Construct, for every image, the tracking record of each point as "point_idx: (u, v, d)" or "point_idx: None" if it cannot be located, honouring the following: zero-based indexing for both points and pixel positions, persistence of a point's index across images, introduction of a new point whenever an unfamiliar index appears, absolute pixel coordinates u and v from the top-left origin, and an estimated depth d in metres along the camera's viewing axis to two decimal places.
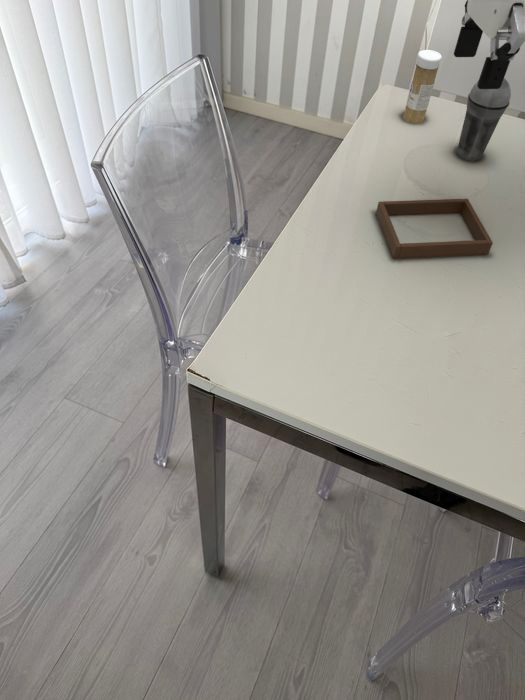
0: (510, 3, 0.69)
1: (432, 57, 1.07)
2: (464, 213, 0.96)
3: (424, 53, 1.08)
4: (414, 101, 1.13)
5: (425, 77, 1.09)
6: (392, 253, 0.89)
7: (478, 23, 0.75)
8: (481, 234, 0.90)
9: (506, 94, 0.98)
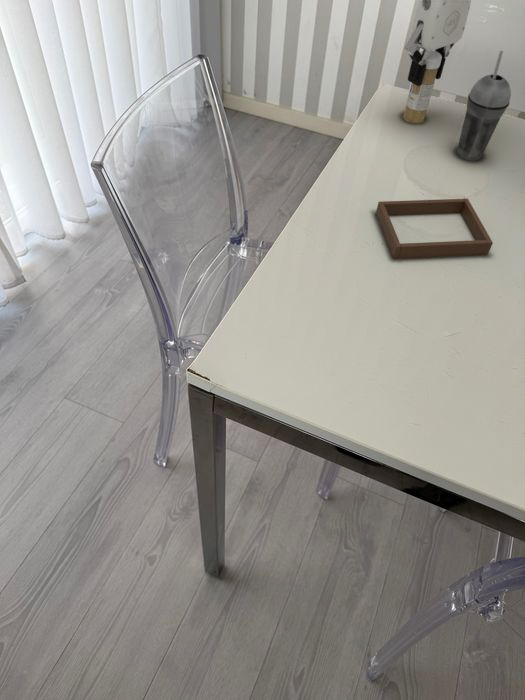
0: (417, 19, 1.01)
1: (432, 57, 1.07)
2: (464, 213, 0.96)
3: None
4: (414, 101, 1.13)
5: (425, 77, 1.09)
6: (392, 253, 0.89)
7: None
8: (481, 234, 0.90)
9: (506, 94, 0.98)
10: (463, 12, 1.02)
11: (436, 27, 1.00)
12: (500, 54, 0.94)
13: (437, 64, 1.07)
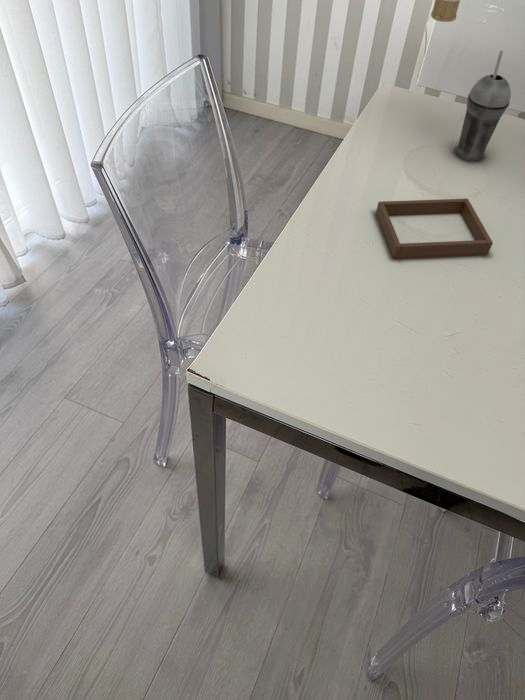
0: None
1: None
2: (464, 213, 0.96)
3: None
4: None
5: None
6: (392, 253, 0.89)
7: None
8: (481, 234, 0.90)
9: (506, 94, 0.98)
10: None
11: None
12: (500, 54, 0.94)
13: None
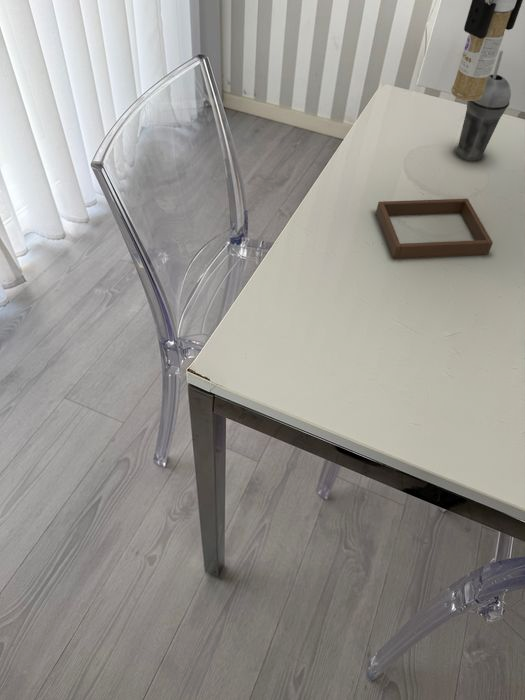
0: None
1: None
2: (464, 213, 0.96)
3: None
4: (471, 64, 0.75)
5: (491, 25, 0.71)
6: (392, 253, 0.89)
7: None
8: (481, 234, 0.90)
9: (506, 94, 0.98)
10: None
11: None
12: (500, 54, 0.94)
13: (512, 3, 0.70)
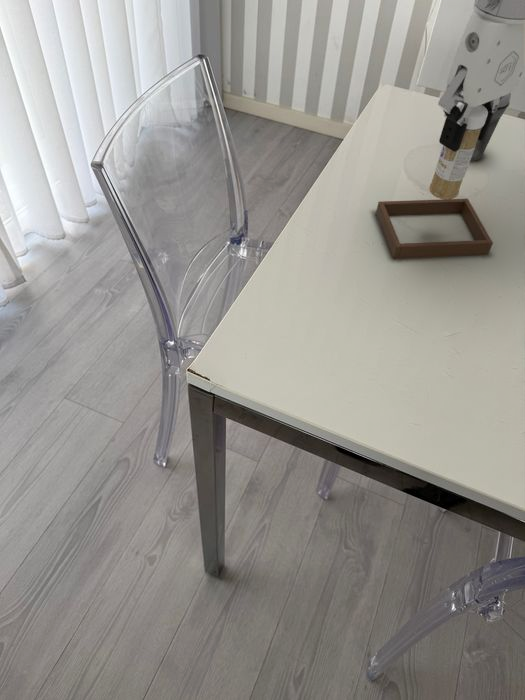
0: (457, 63, 0.70)
1: (475, 113, 0.76)
2: (464, 213, 0.96)
3: None
4: (446, 170, 0.82)
5: (463, 140, 0.78)
6: (392, 253, 0.89)
7: None
8: (481, 234, 0.90)
9: None
10: (523, 53, 0.71)
11: (485, 76, 0.69)
12: None
13: (482, 122, 0.77)
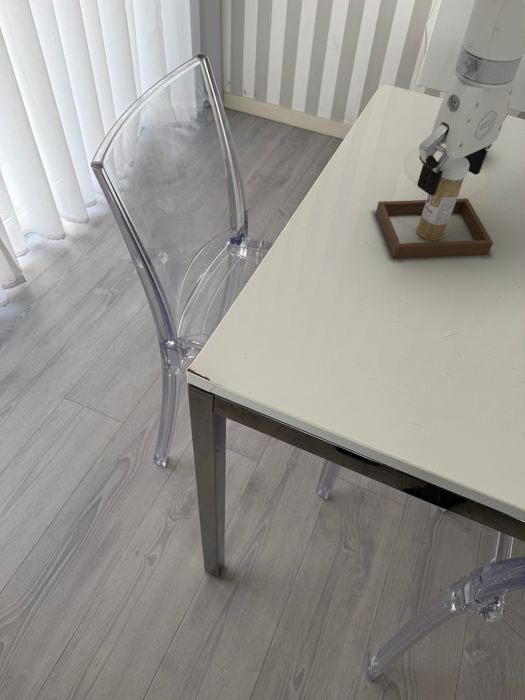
0: (440, 120, 0.76)
1: (457, 166, 0.82)
2: (464, 213, 0.96)
3: None
4: (432, 215, 0.88)
5: (447, 189, 0.85)
6: (392, 253, 0.89)
7: None
8: (481, 234, 0.90)
9: None
10: (501, 111, 0.77)
11: (466, 133, 0.75)
12: None
13: (464, 174, 0.83)
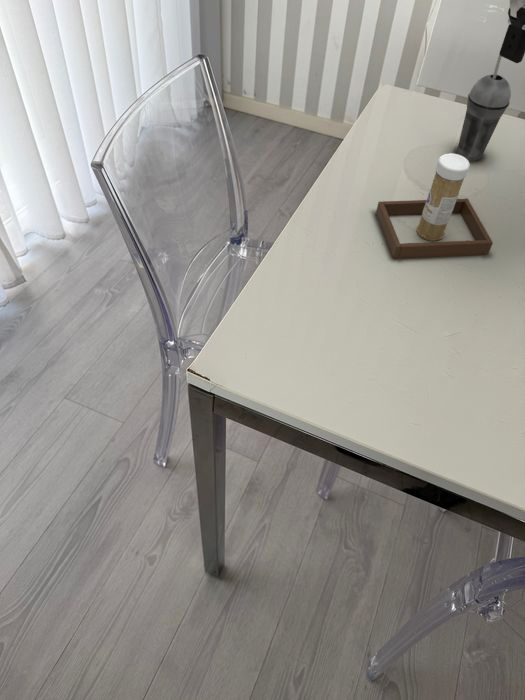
0: None
1: (457, 166, 0.82)
2: (464, 213, 0.96)
3: (447, 159, 0.83)
4: (432, 215, 0.88)
5: (447, 189, 0.85)
6: (392, 253, 0.89)
7: None
8: (481, 234, 0.90)
9: (506, 94, 0.98)
10: None
11: None
12: None
13: (464, 174, 0.83)
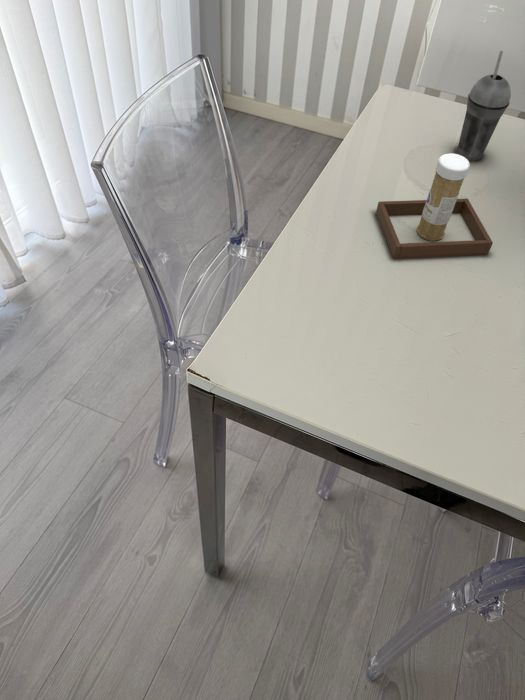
0: None
1: (457, 166, 0.82)
2: (464, 213, 0.96)
3: (447, 159, 0.83)
4: (432, 215, 0.88)
5: (447, 189, 0.85)
6: (392, 253, 0.89)
7: None
8: (481, 234, 0.90)
9: (506, 94, 0.98)
10: None
11: None
12: (500, 54, 0.94)
13: (464, 174, 0.83)
